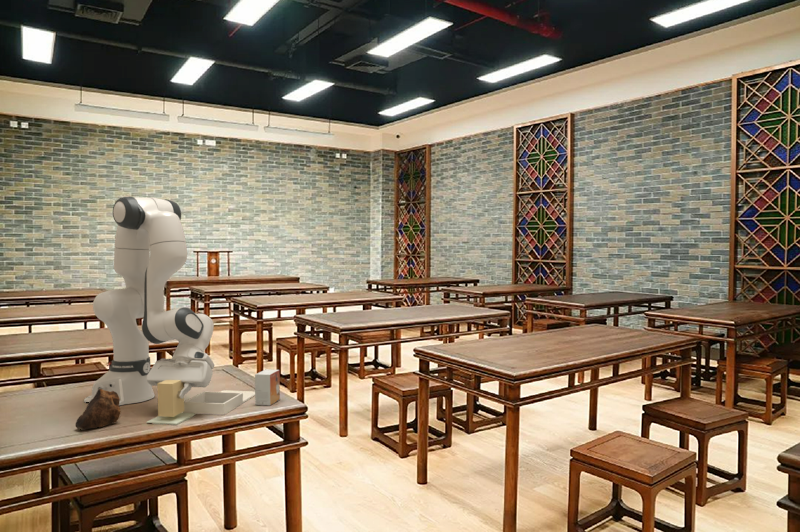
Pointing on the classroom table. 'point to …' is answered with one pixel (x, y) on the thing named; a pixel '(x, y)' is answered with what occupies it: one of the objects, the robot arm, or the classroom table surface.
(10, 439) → the classroom table surface
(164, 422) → the sage mat
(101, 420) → the decorative rock
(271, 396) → the small box
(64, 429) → the classroom table surface
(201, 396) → the box
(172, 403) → the block
